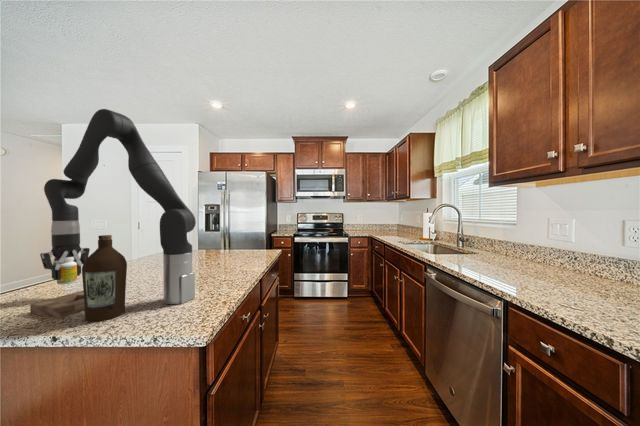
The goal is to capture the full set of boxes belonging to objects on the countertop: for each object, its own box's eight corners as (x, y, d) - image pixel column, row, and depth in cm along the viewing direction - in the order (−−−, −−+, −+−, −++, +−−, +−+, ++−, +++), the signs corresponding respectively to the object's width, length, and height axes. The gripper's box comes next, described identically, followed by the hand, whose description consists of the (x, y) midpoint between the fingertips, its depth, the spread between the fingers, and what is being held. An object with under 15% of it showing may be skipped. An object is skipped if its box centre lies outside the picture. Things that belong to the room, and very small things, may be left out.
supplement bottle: (64, 285, 90) (63, 258, 90) (52, 284, 91) (52, 258, 91) (81, 281, 96) (80, 255, 96) (70, 280, 97) (69, 255, 97)
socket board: (110, 302, 89) (110, 293, 89) (60, 318, 75) (60, 308, 75) (82, 298, 93) (82, 290, 93) (30, 313, 79) (30, 304, 79)
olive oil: (90, 312, 80) (90, 234, 80) (131, 306, 84) (130, 233, 84) (75, 325, 70) (74, 237, 70) (121, 318, 75) (121, 236, 75)
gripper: (47, 234, 86) (48, 283, 86) (94, 231, 99) (96, 273, 100) (33, 234, 88) (34, 282, 88) (81, 231, 101) (82, 272, 102)
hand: (67, 277), depth 94 cm, fingers closed on supplement bottle, 5 cm apart
